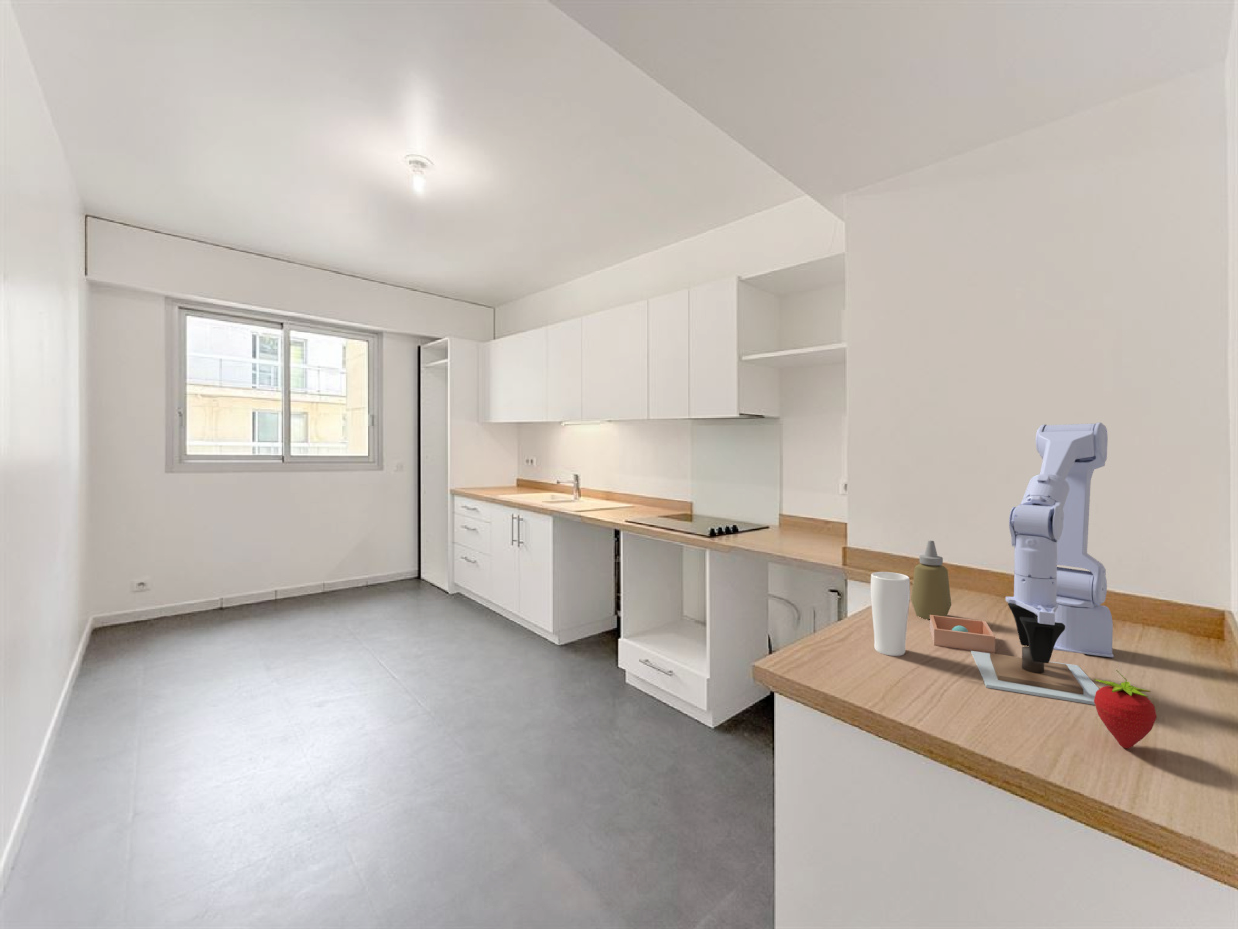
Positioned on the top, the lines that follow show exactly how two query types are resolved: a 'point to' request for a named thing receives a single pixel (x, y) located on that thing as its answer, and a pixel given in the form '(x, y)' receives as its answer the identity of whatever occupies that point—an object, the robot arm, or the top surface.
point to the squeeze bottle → (931, 585)
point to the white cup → (890, 611)
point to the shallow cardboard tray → (962, 634)
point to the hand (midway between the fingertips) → (1034, 653)
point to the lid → (1034, 672)
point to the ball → (960, 629)
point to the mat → (992, 682)
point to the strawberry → (1125, 711)
